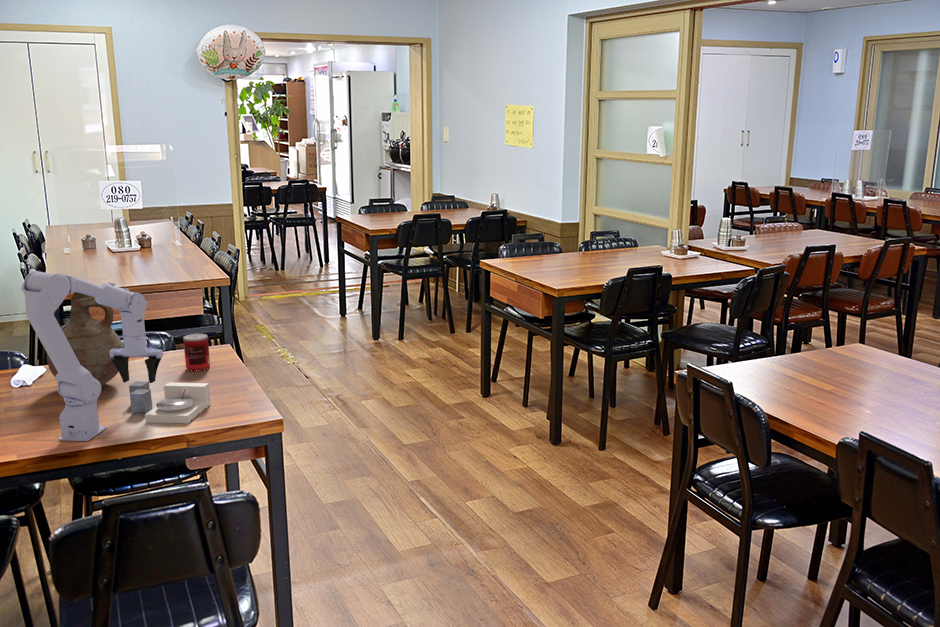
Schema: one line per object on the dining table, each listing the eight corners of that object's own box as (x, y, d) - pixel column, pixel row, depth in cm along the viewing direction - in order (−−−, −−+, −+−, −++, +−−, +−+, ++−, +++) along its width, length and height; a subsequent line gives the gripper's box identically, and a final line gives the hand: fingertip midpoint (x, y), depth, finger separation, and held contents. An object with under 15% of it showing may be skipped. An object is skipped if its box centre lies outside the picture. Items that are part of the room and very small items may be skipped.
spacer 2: (145, 414, 222) (143, 394, 220) (132, 414, 222) (129, 393, 221) (152, 409, 225) (150, 389, 224) (139, 409, 226) (137, 389, 224)
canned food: (200, 363, 270) (197, 332, 267) (215, 367, 265) (212, 335, 263) (181, 369, 264) (178, 337, 261) (195, 373, 259) (192, 340, 257)
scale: (188, 423, 214) (186, 400, 213) (145, 422, 215) (143, 399, 214) (210, 404, 229) (208, 383, 228) (170, 403, 230) (168, 382, 229)
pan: (185, 411, 215) (185, 409, 215) (149, 410, 216) (149, 408, 216) (200, 399, 224) (200, 397, 224) (166, 398, 225) (166, 396, 225)
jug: (58, 380, 252) (46, 288, 246) (130, 374, 259) (121, 283, 252) (45, 402, 232) (31, 302, 225) (124, 394, 239) (113, 297, 232)
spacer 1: (144, 405, 229) (142, 386, 227) (130, 405, 229) (128, 385, 228) (150, 401, 233) (148, 381, 231) (137, 400, 233) (135, 381, 232)
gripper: (166, 331, 222) (170, 377, 225) (116, 330, 223) (121, 376, 226) (154, 337, 215) (159, 385, 218) (103, 337, 216) (108, 384, 219)
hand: (139, 381), depth 222 cm, fingers open, 7 cm apart
